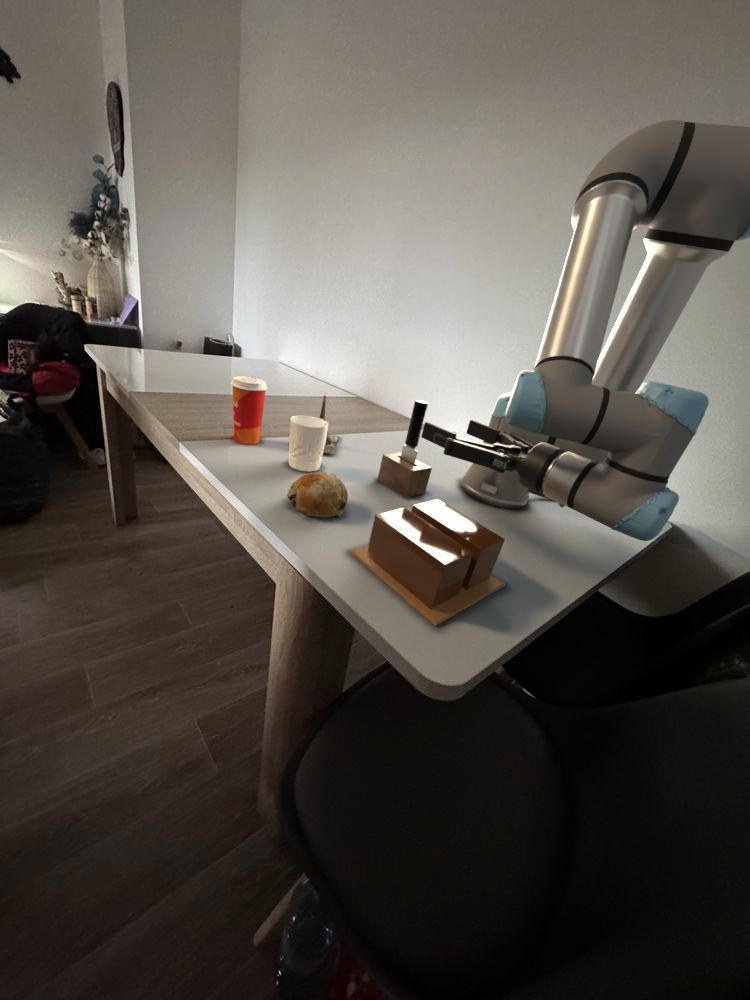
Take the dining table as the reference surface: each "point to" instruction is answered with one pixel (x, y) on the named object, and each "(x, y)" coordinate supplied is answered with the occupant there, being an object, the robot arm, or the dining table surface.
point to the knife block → (404, 475)
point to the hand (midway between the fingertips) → (447, 428)
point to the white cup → (306, 442)
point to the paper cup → (248, 408)
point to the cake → (433, 558)
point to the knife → (414, 432)
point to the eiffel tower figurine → (330, 441)
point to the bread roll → (318, 495)
